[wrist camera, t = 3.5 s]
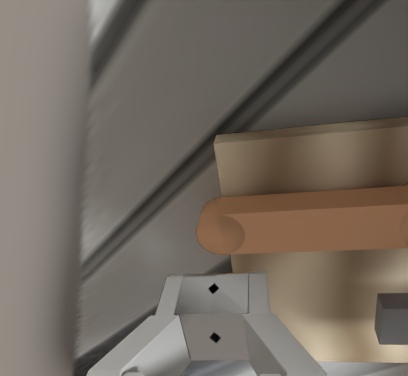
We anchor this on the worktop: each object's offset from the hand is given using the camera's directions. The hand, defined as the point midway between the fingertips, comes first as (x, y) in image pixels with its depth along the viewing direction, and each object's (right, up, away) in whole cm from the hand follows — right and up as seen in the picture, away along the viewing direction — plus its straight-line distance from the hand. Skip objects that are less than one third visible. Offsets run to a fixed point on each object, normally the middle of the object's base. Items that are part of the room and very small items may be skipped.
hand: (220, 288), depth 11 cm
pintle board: (+11, -2, +16) cm, 19 cm away
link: (+7, +2, +12) cm, 14 cm away
